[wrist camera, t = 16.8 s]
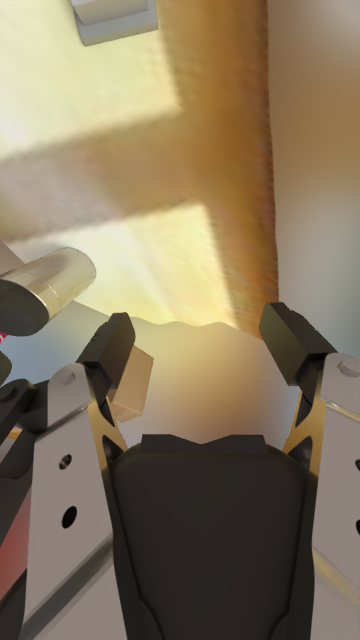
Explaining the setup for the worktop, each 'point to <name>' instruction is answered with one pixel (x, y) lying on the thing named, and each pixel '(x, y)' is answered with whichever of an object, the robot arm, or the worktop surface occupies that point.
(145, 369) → the wooden block
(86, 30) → the grey divided tray
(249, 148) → the worktop surface
